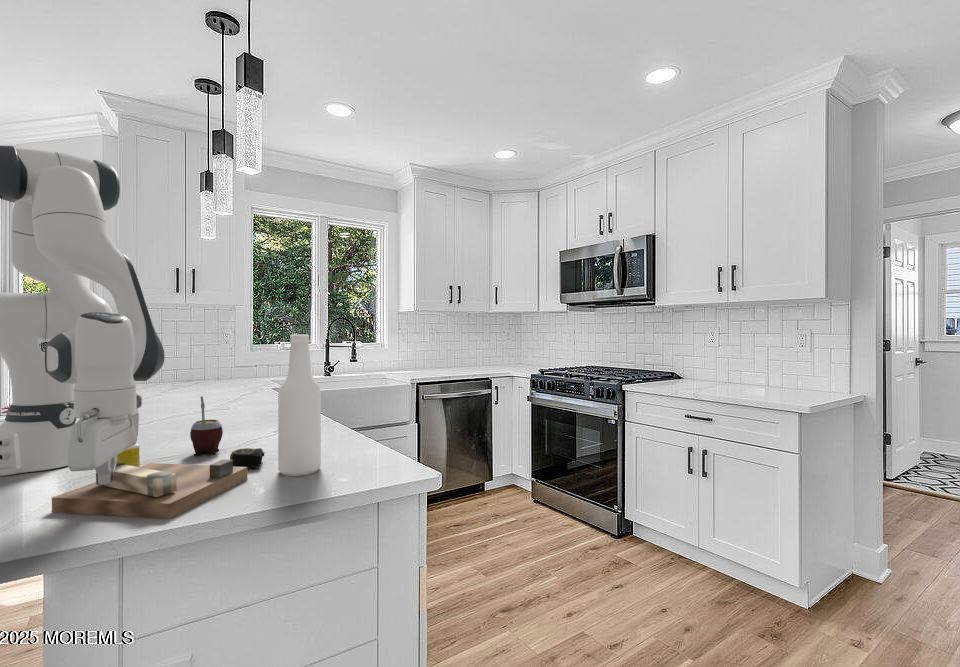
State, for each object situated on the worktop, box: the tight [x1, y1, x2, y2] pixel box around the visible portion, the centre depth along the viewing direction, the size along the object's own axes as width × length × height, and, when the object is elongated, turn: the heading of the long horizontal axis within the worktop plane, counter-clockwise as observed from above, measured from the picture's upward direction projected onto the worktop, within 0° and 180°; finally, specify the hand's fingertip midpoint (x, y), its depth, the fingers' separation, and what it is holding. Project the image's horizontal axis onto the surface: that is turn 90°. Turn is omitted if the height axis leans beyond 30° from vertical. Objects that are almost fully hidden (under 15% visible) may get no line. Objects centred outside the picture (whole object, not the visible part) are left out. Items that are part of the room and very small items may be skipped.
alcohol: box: [277, 333, 322, 477], centre depth 111 cm, size 9×9×30 cm
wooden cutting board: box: [51, 459, 248, 520], centre depth 96 cm, size 22×22×5 cm
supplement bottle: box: [117, 438, 141, 467], centre depth 108 cm, size 5×5×8 cm
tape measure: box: [229, 447, 266, 469], centre depth 115 cm, size 7×7×4 cm
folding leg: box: [95, 462, 177, 497], centre depth 91 cm, size 17×4×3 cm, turn 66°
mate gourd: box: [189, 396, 224, 457], centre depth 126 cm, size 8×8×15 cm
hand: (106, 482), depth 90 cm, fingers closed
